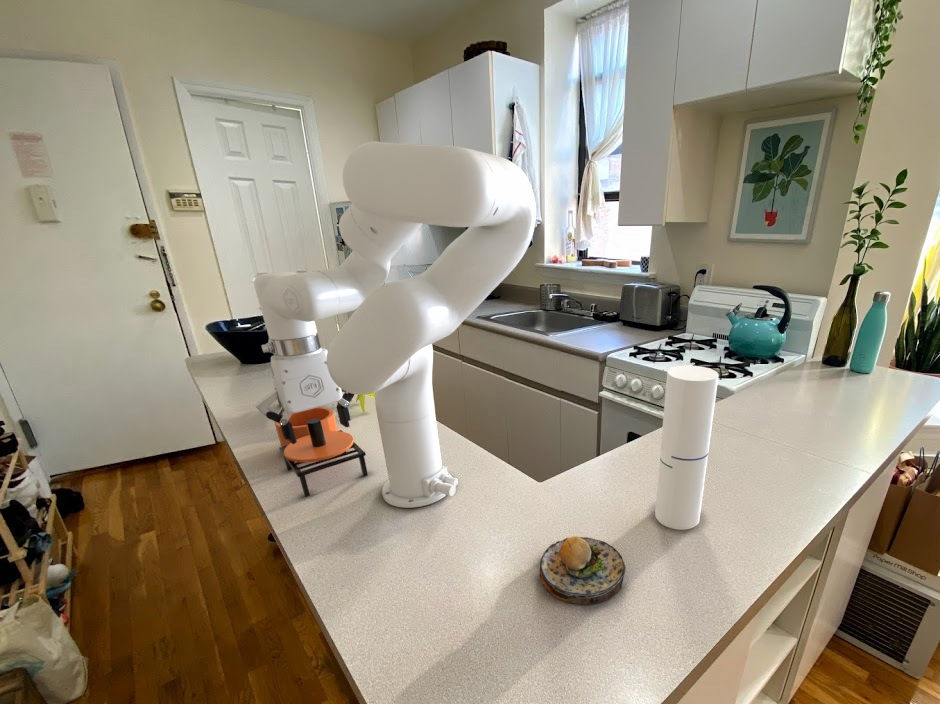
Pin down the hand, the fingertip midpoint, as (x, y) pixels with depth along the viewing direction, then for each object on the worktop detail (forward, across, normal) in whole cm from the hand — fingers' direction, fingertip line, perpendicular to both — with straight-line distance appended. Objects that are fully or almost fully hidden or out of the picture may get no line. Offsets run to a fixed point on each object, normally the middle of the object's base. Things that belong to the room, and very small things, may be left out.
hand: (319, 433), depth 88 cm
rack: (+9, 0, +1) cm, 9 cm away
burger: (+10, +15, -54) cm, 57 cm away
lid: (+3, 0, +1) cm, 3 cm away
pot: (+8, +1, +14) cm, 16 cm away
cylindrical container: (+10, +36, -56) cm, 68 cm away
